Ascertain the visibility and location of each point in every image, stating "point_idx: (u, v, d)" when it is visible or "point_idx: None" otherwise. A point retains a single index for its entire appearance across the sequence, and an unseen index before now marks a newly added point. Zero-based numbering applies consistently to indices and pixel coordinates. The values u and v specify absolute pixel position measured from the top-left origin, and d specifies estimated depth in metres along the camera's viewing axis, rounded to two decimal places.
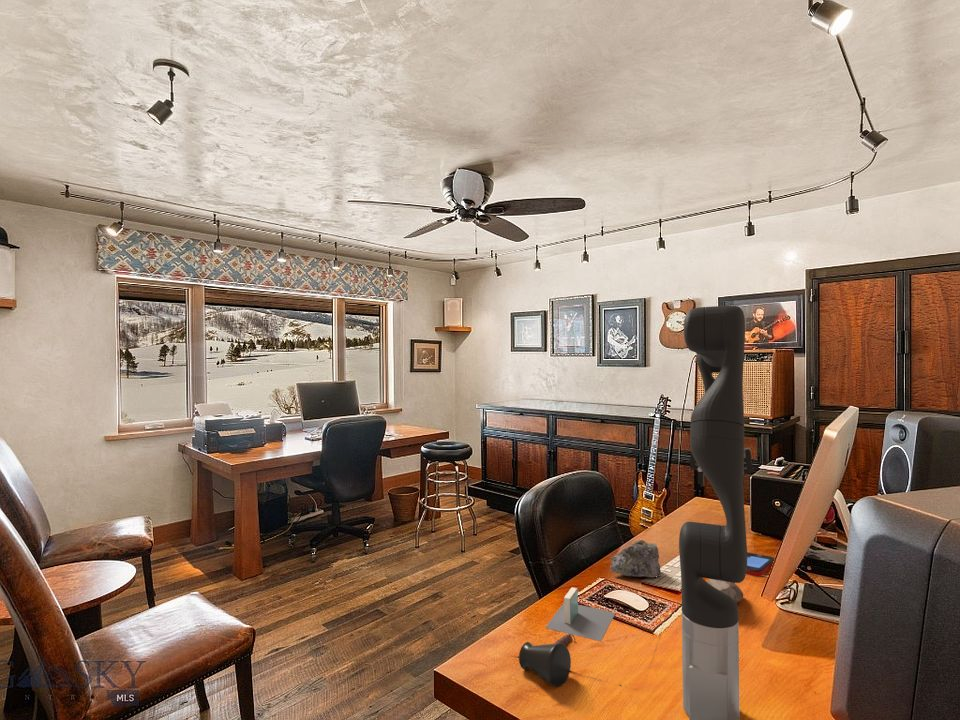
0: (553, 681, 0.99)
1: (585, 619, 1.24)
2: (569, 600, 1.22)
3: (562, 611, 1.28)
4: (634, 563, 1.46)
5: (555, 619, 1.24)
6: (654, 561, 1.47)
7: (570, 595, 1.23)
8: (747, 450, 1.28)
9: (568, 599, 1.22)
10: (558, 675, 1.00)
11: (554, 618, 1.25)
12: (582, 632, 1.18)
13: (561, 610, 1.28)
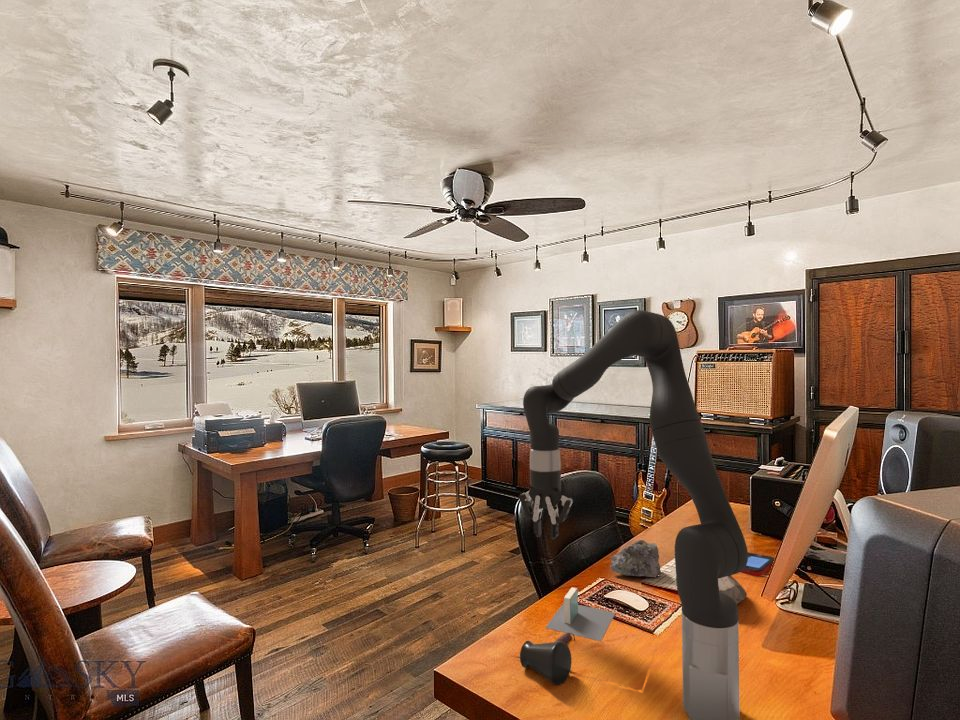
0: (555, 679, 0.99)
1: (585, 619, 1.24)
2: (569, 600, 1.22)
3: (562, 611, 1.28)
4: (634, 562, 1.47)
5: (555, 619, 1.24)
6: (653, 561, 1.47)
7: (570, 595, 1.23)
8: (567, 501, 1.23)
9: (568, 599, 1.22)
10: (560, 673, 1.00)
11: (554, 618, 1.25)
12: (582, 632, 1.18)
13: (561, 610, 1.28)
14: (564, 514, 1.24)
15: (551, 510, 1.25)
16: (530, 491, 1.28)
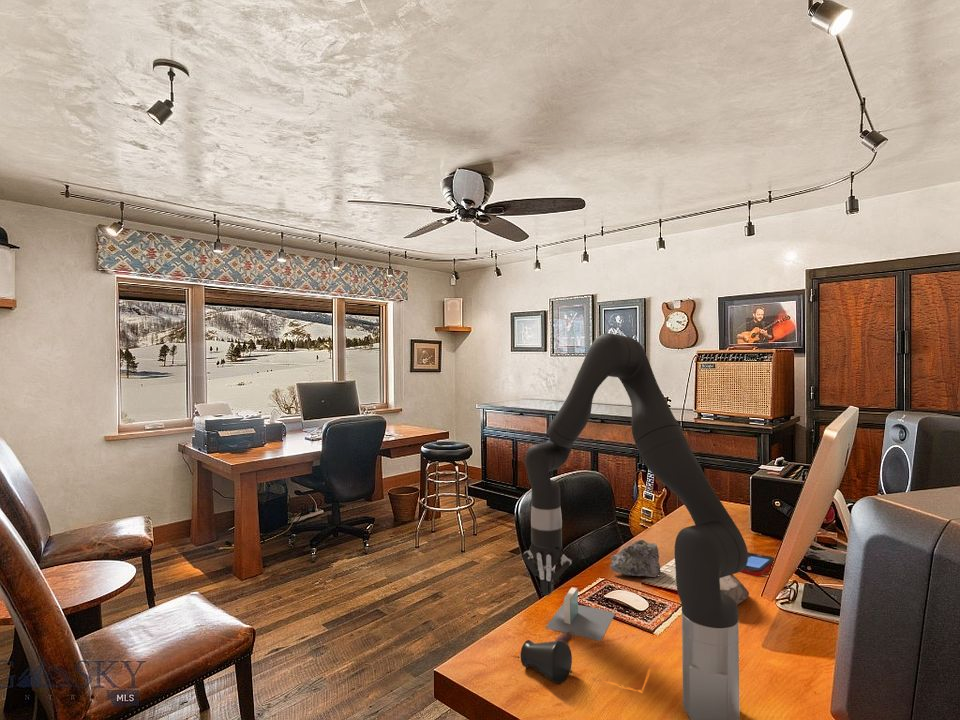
0: (555, 678, 1.00)
1: (585, 619, 1.24)
2: (569, 600, 1.22)
3: (562, 611, 1.28)
4: (633, 562, 1.47)
5: (555, 619, 1.24)
6: (653, 560, 1.47)
7: (570, 595, 1.23)
8: (567, 563, 1.24)
9: (568, 599, 1.22)
10: (560, 672, 1.01)
11: (554, 618, 1.25)
12: (582, 632, 1.18)
13: (561, 610, 1.28)
14: (560, 573, 1.25)
15: (549, 568, 1.26)
16: (531, 548, 1.28)
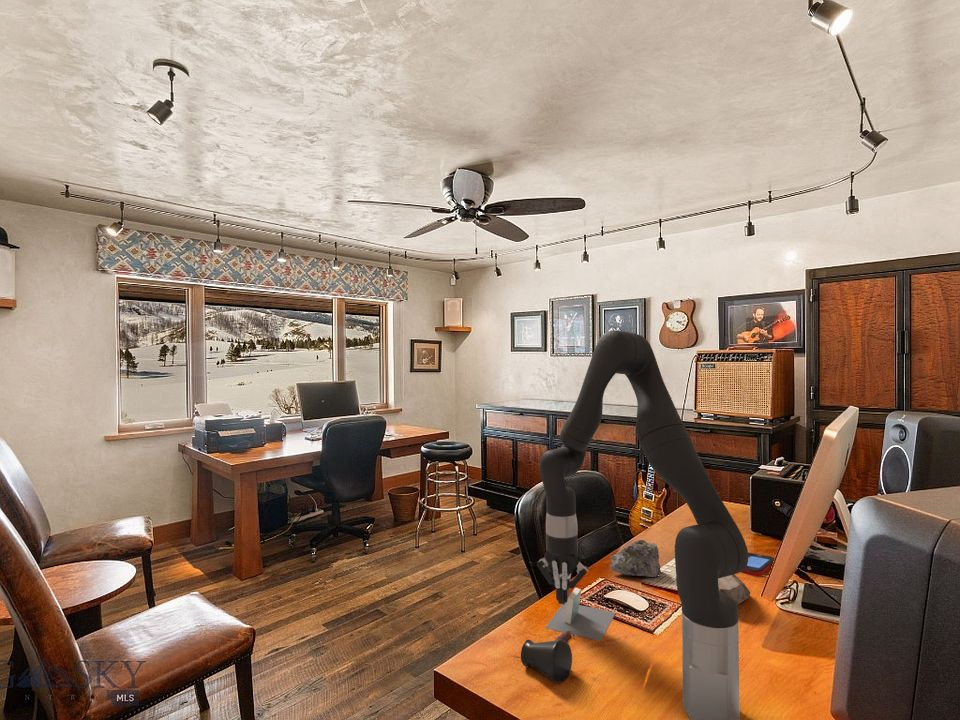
0: (556, 677, 1.00)
1: (585, 619, 1.24)
2: (573, 601, 1.21)
3: (562, 611, 1.28)
4: (633, 562, 1.47)
5: (555, 619, 1.24)
6: (653, 560, 1.48)
7: (574, 596, 1.23)
8: (583, 571, 1.22)
9: (572, 600, 1.21)
10: (561, 671, 1.01)
11: (554, 618, 1.25)
12: (582, 632, 1.18)
13: (561, 610, 1.28)
14: (576, 581, 1.23)
15: (565, 576, 1.23)
16: (546, 556, 1.26)
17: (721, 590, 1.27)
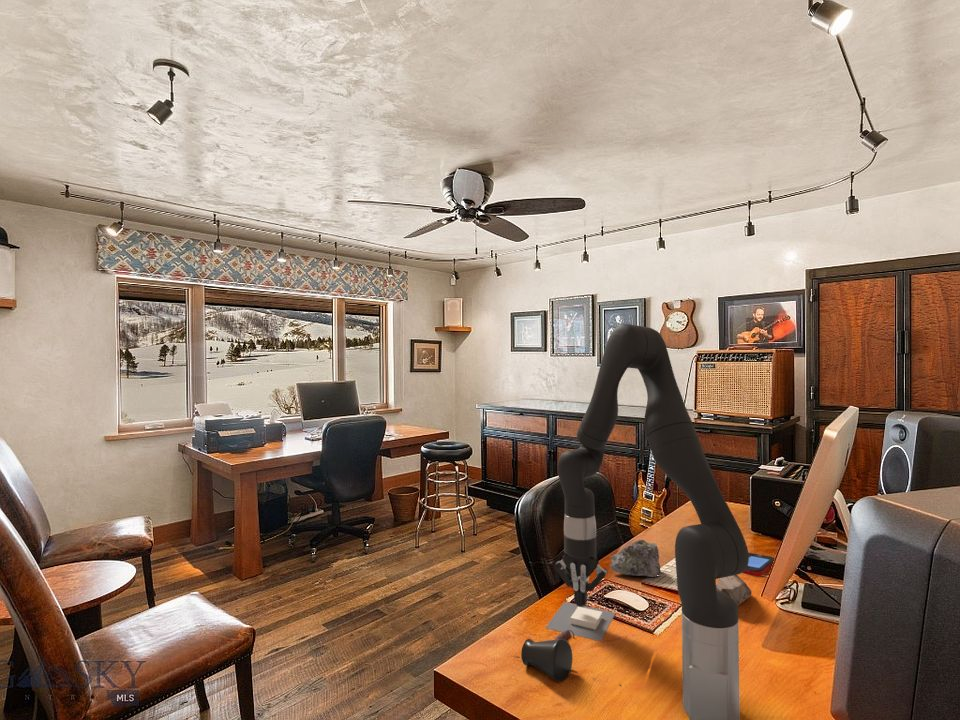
0: (557, 676, 1.00)
1: None
2: (594, 628, 1.19)
3: (562, 611, 1.28)
4: (633, 562, 1.47)
5: (555, 619, 1.24)
6: (653, 560, 1.48)
7: (597, 624, 1.20)
8: (602, 573, 1.20)
9: (594, 628, 1.19)
10: (561, 670, 1.01)
11: (554, 618, 1.25)
12: (582, 632, 1.18)
13: (561, 610, 1.28)
14: (595, 584, 1.21)
15: (583, 579, 1.21)
16: (564, 558, 1.24)
17: (723, 590, 1.27)
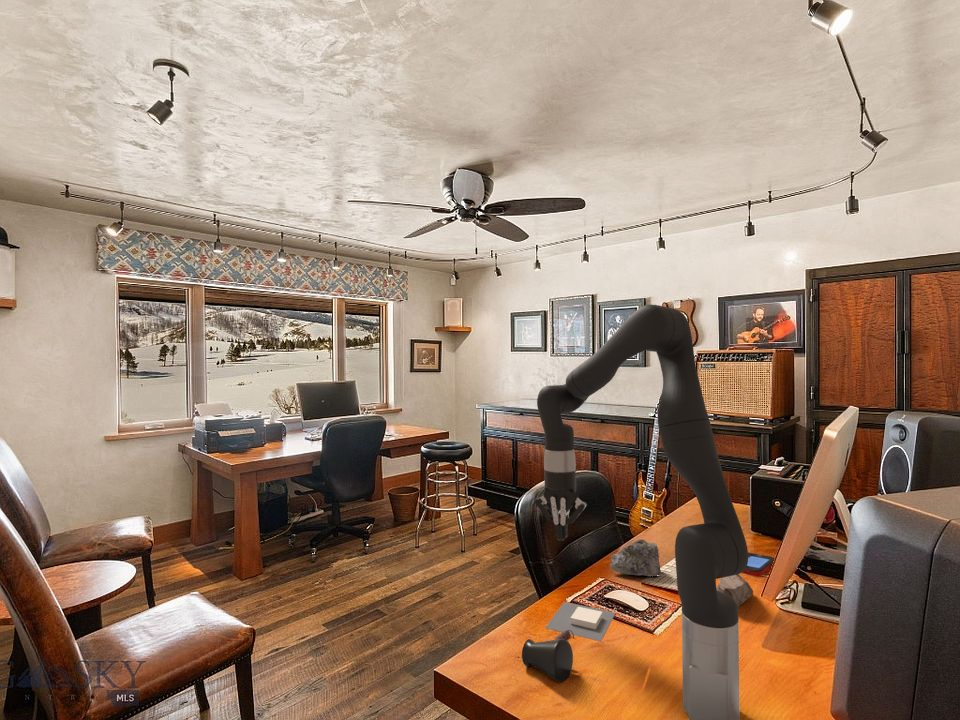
0: (558, 677, 1.00)
1: None
2: (594, 628, 1.19)
3: (562, 611, 1.28)
4: (633, 561, 1.47)
5: (555, 619, 1.24)
6: (653, 560, 1.48)
7: (597, 624, 1.20)
8: (582, 505, 1.22)
9: (594, 628, 1.19)
10: (562, 670, 1.01)
11: (554, 618, 1.25)
12: (582, 632, 1.18)
13: (561, 610, 1.28)
14: (575, 516, 1.23)
15: (563, 511, 1.23)
16: (544, 493, 1.26)
17: (726, 589, 1.27)
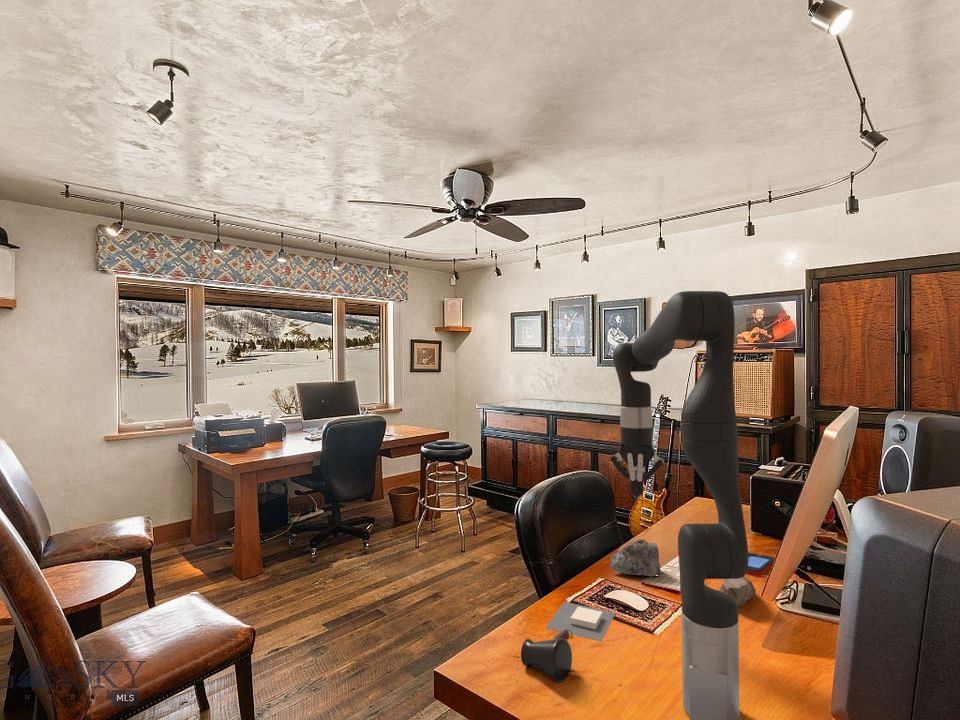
0: (557, 676, 1.00)
1: None
2: (594, 628, 1.19)
3: (562, 611, 1.28)
4: (633, 561, 1.47)
5: (555, 619, 1.24)
6: (653, 560, 1.48)
7: (597, 624, 1.20)
8: (660, 461, 1.23)
9: (594, 628, 1.19)
10: (561, 670, 1.02)
11: (554, 618, 1.25)
12: (582, 632, 1.18)
13: (561, 610, 1.28)
14: (652, 472, 1.24)
15: (641, 467, 1.25)
16: (620, 450, 1.27)
17: (730, 589, 1.27)
